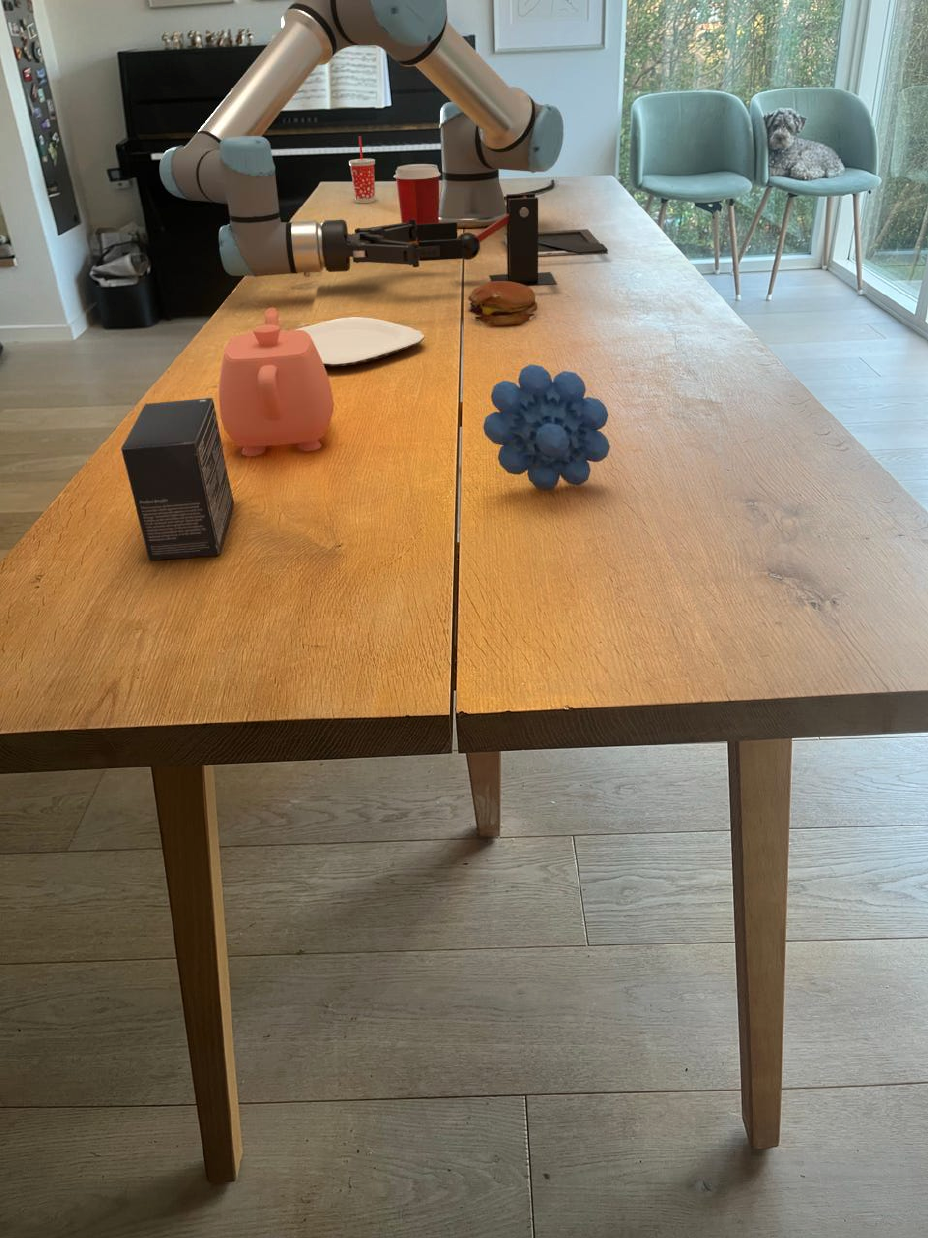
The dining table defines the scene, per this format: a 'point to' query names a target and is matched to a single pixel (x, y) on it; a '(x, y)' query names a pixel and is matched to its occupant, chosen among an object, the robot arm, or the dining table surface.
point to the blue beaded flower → (547, 427)
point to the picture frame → (568, 243)
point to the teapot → (274, 389)
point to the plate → (359, 340)
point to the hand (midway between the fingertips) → (459, 239)
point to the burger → (502, 302)
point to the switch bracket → (523, 243)
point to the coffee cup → (418, 193)
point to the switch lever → (479, 238)
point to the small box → (179, 479)
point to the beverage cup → (363, 178)
